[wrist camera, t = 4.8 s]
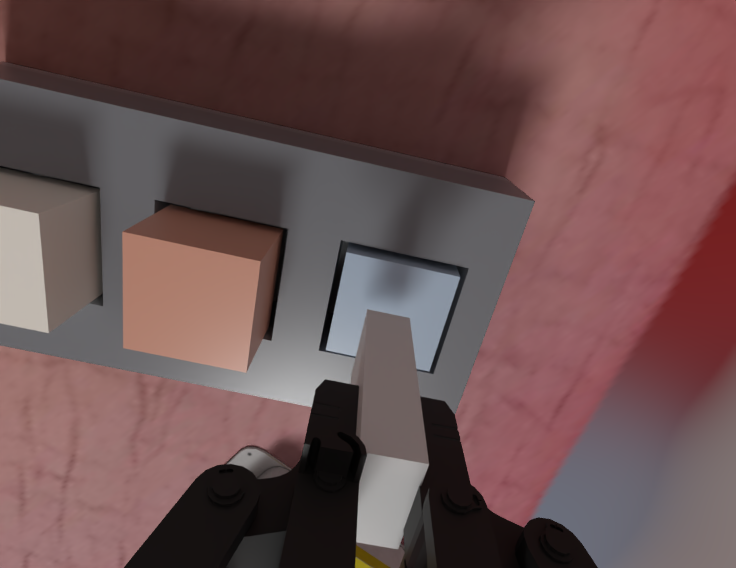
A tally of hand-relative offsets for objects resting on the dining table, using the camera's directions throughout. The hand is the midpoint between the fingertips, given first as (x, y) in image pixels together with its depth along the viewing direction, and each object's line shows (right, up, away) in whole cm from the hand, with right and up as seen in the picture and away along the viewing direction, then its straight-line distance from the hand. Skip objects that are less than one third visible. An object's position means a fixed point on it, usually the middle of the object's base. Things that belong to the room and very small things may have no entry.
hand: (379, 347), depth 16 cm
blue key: (+1, +2, +5) cm, 6 cm away
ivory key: (-13, +4, +2) cm, 14 cm away
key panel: (-6, +4, +6) cm, 10 cm away
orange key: (-6, +3, +3) cm, 7 cm away
